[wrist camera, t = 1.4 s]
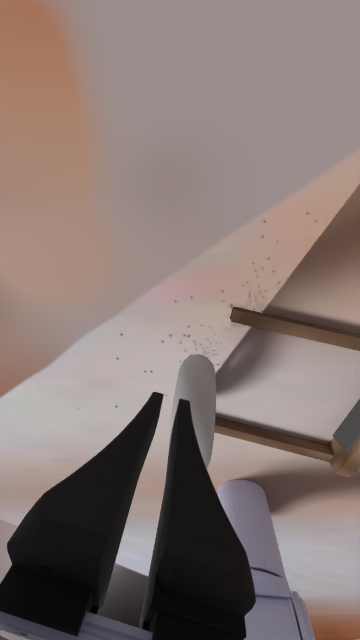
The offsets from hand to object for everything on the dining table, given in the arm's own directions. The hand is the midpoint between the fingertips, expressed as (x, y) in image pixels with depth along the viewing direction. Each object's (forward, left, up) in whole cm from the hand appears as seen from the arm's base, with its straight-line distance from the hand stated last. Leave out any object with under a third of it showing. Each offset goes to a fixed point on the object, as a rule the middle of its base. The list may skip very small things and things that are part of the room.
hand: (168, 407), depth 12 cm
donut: (-4, -2, -10) cm, 11 cm away
